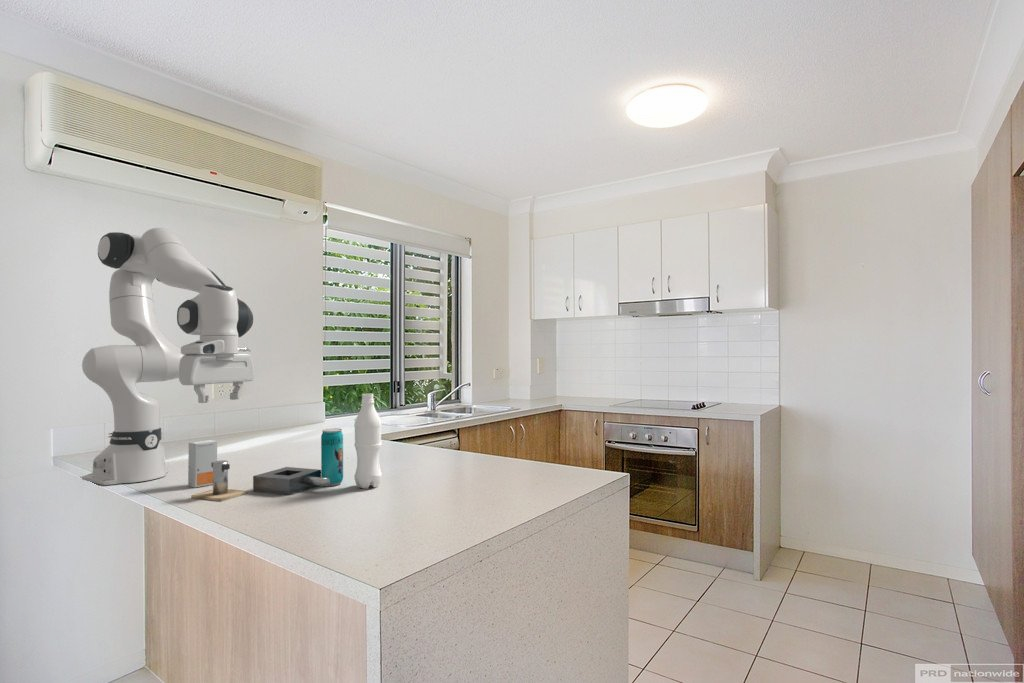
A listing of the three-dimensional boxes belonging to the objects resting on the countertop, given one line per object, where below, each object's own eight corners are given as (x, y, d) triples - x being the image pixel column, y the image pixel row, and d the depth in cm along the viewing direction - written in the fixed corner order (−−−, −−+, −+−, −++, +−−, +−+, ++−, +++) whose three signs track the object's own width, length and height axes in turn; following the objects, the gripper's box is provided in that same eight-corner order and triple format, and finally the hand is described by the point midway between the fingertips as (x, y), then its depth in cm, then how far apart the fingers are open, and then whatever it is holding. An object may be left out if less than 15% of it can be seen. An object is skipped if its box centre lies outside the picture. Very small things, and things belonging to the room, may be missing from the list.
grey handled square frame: (253, 491, 145) (253, 476, 146) (286, 481, 157) (286, 466, 157) (311, 497, 139) (311, 481, 139) (342, 486, 150) (342, 471, 150)
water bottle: (385, 483, 153) (385, 392, 153) (376, 490, 146) (376, 394, 146) (360, 483, 153) (359, 392, 154) (350, 489, 146) (349, 395, 147)
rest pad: (191, 497, 140) (191, 495, 140) (218, 490, 147) (218, 487, 147) (221, 501, 136) (221, 498, 136) (247, 493, 144) (247, 490, 144)
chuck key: (207, 493, 142) (207, 461, 142) (220, 490, 145) (220, 459, 145) (220, 496, 138) (220, 464, 139) (233, 493, 141) (233, 461, 141)
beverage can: (336, 487, 149) (336, 431, 149) (317, 486, 150) (317, 431, 150) (347, 482, 155) (346, 428, 155) (328, 481, 156) (328, 428, 156)
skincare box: (194, 488, 149) (194, 443, 150) (187, 486, 152) (187, 442, 152) (217, 483, 154) (217, 440, 154) (210, 481, 157) (210, 439, 157)
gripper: (242, 347, 153) (242, 397, 153) (174, 347, 134) (174, 404, 134) (260, 347, 151) (260, 398, 151) (193, 347, 132) (193, 405, 131)
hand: (219, 401), depth 142 cm, fingers open, 8 cm apart
